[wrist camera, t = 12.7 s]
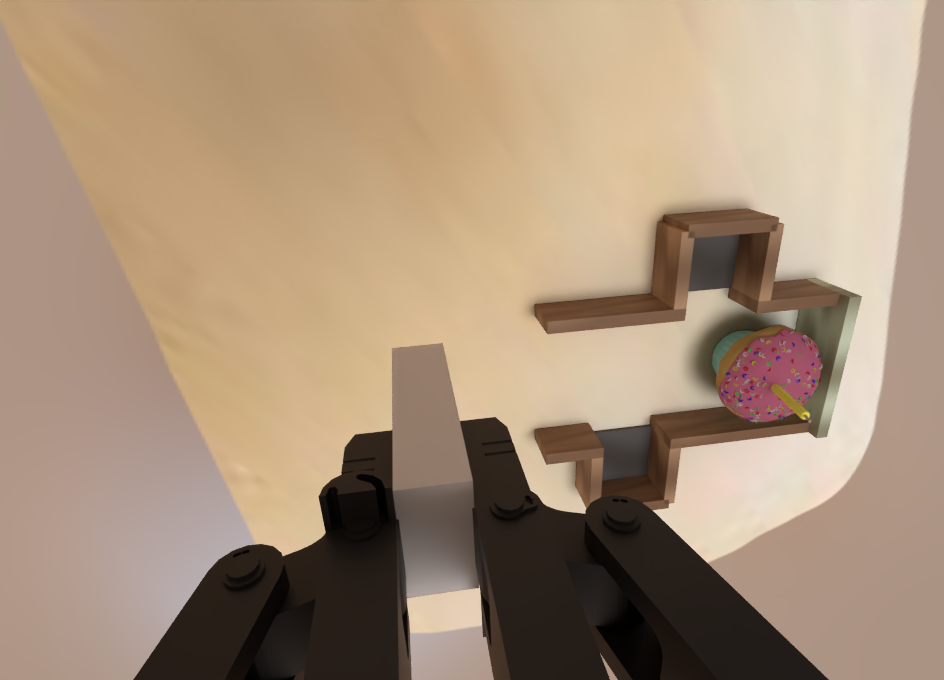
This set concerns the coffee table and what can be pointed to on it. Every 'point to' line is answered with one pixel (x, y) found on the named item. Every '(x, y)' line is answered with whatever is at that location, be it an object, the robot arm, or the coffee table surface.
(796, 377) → the cupcake
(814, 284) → the trap lane
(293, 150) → the coffee table surface
